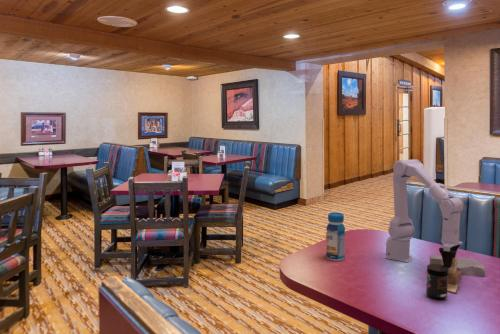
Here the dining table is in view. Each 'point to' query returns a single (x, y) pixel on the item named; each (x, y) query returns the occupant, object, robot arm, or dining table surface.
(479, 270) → the stone block
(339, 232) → the beverage bottle
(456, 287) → the tile
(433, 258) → the slate block
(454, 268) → the maple block
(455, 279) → the walnut block
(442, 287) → the supplement container
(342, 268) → the dining table surface
